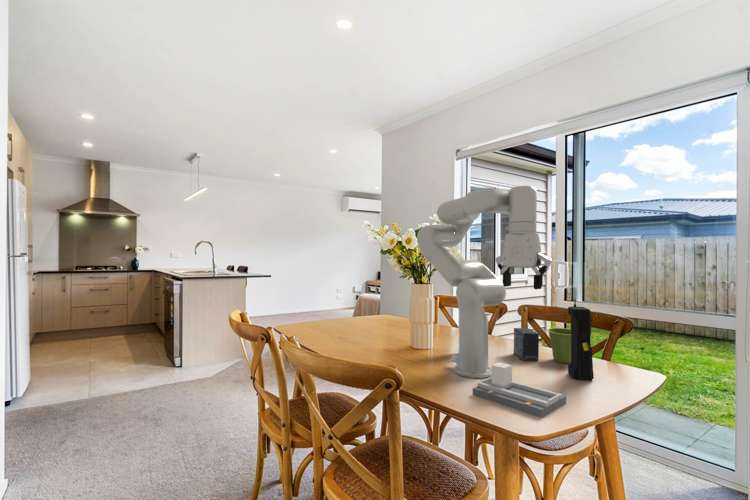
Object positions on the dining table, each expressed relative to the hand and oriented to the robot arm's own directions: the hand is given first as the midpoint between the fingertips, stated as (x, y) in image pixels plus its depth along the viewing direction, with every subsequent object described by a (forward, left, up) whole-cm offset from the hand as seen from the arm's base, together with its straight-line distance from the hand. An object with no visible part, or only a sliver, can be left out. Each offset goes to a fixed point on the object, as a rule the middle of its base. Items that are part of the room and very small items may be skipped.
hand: (521, 287), depth 114 cm
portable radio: (+6, +27, -31) cm, 41 cm away
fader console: (+2, -6, -30) cm, 31 cm away
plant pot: (-6, +43, -31) cm, 53 cm away
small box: (-18, +37, -31) cm, 51 cm away
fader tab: (-3, -6, -28) cm, 29 cm away
